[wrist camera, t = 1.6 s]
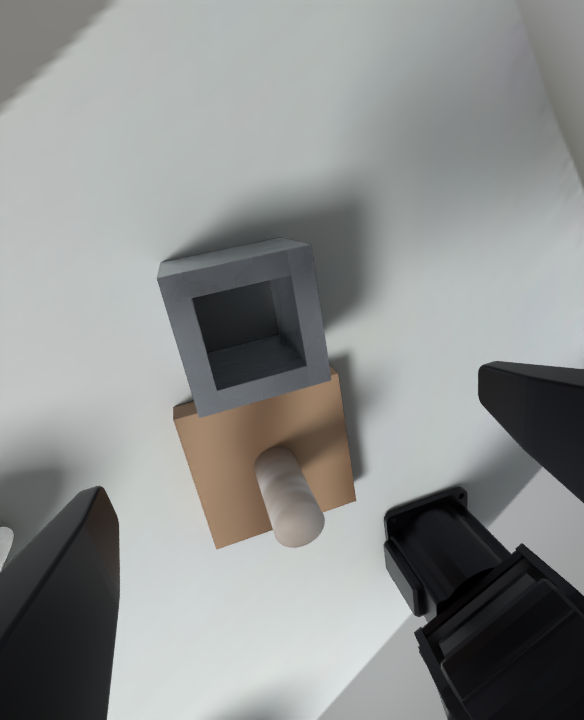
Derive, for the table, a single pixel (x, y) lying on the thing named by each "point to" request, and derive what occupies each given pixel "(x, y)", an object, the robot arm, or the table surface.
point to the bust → (5, 544)
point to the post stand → (270, 464)
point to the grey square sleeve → (258, 358)
